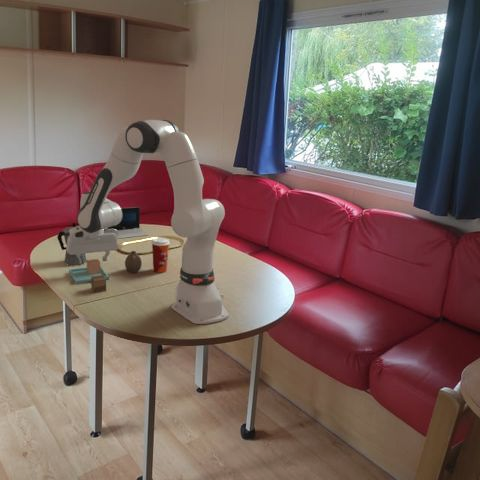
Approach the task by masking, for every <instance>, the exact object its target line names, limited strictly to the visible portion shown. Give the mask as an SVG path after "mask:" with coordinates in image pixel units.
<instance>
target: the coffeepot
mask: <svg viewBox="0 0 480 480" xmlns="http://www.w3.org/2000/svg"><path fill="white" fill-rule="evenodd" d="M74 227H77V222H73V223H72V226H70V227H69V226H68V227H65V228H63V229H62V230H61V231H59V232H58V234H57V240H58V243H59V246H60V247H61V250H62V251H65V256H64V264H65V265H67V264H68V265H67V266H70V265H79V266H82V265H81V264H80V263H79V258H78V257H77V255H76V254H75V255H70V254H69V253H68V252H67V239H68V237H69V236H70V234H69V230H70V229H71V228H74ZM62 237H64V242H65V245H66V247H65V245H64V242H63V238H62ZM79 257H80V258H81V259H82V258H83V259H84V263H85V264H87V260H88V259H87V257H86V253H84V254H81V256H79Z"/></svg>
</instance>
